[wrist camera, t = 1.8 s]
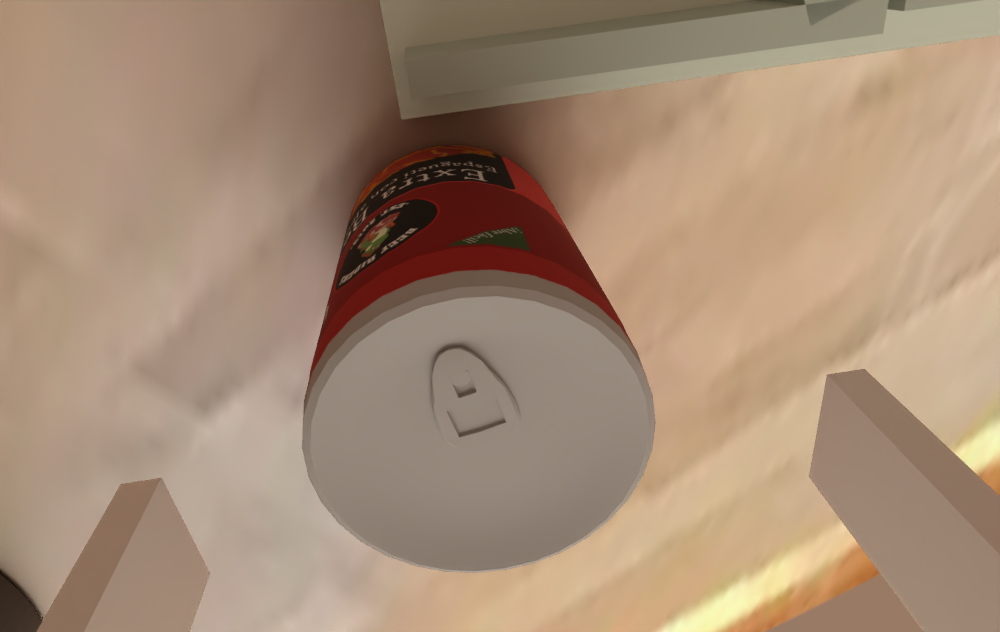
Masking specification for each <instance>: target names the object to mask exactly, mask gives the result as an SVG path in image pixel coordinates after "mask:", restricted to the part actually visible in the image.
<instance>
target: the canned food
mask: <svg viewBox="0 0 1000 632" xmlns="http://www.w3.org/2000/svg"><path fill="white" fill-rule="evenodd" d="M655 423H656V422H655V413H654V404H653V395H652V392H651V389H650V387H649V384H648V381H647V378H646V375H645V372H644V369H643V367H642V364H641V361H640V359H639V356H638V353H637V351H636V349H635V347H634V346H633V344H632V342H631V340H630V339H629V337H628V335H627V333H626V331H625V329H624V326H623V324H622V323H621V321H620V319H619V318H618V316H617V314H616V312H615V311H614V309H613V307H612V305H611V304H610V302H609V300H608V299H607V297H606V295H605V293H604V292H603V290H602V288H601V287H600V285H599V283H598V281H597V280H596V278H595V276H594V274H593V273H592V271H591V269H590V268H589V266H588V264H587V262H586V261H585V259H584V257H583V256H582V254H581V252H580V250H579V249H578V247H577V245H576V244H575V242H574V240H573V238H572V237H571V235H570V233H569V231H568V230H567V228H566V226H565V225H564V223H563V221H562V219H561V218H560V216H559V214H558V213H557V211H556V209H555V207H554V206H553V204H552V202H551V201H550V199H549V198H548V196H547V195H546V193H545V192H544V190H543V189H542V187H541V186H540V185H539V184H538V183H537V182H536V181H535V180H534V179H533V178H532V177H531V176H530V175H529V174H528V173H527V172H526V171H525V170H524V169H522V168H521V167H519V166H518V165H516V164H515V163H513V162H512V161H510V160H509V159H507V158H505V157H503V156H500V155H498V154H495V153H493V152H490V151H488V150H485V149H480V148H475V147H469V146H464V145H449V146H435V147H431V148H427V149H423V150H418V151H415V152H413V153H411V154H409V155H406V156H404V157H402V158H400V159H398V160H396V161H394V162H393V163H391V164H390V165H389V166H387V167H386V168H385V169H384V170H382V171H381V172H380V173H378V174H377V175H376V176H375V177H374V178H373V180H372V181H371V182H370V183H369V184H368V186H367V187H366V188H365V189H364V190H363V191H362V193H361V195H360V197H359V199H358V201H357V202H356V204H355V206H354V208H353V210H352V213H351V216H350V220H349V223H348V227H347V230H346V234H345V238H344V242H343V246H342V250H341V254H340V258H339V261H338V265H337V269H336V273H335V277H334V281H333V285H332V289H331V293H330V297H329V300H328V304H327V308H326V312H325V316H324V320H323V324H322V328H321V332H320V336H319V339H318V343H317V347H316V351H315V355H314V359H313V363H312V367H311V371H310V379H309V383H308V387H307V391H306V395H305V399H304V417H303V440H302V449H303V454H304V458H305V463H306V467H307V472H308V476H309V478H310V480H311V482H312V484H313V486H314V488H315V490H316V492H317V494H318V496H319V498H320V500H321V502H322V503H323V504H324V506H325V507H326V508H327V509H328V511H329V512H330V513H331V514H332V515H333V517H334V518H335V519H336V520H337V522H338V523H339V524H340V525H341V526H343V527H344V528H345V529H346V530H348V531H349V532H350V533H351V534H352V535H354V536H355V537H356V538H357V539H358V540H360V541H361V542H363V543H364V544H366V545H368V546H370V547H372V548H373V549H375V550H377V551H379V552H381V553H382V554H384V555H386V556H388V557H391V558H394V559H397V560H400V561H402V562H405V563H408V564H411V565H414V566H418V567H423V568H428V569H434V570H439V571H444V572H466V573H479V572H489V571H500V570H507V569H511V568H515V567H520V566H524V565H528V564H532V563H536V562H538V561H541V560H543V559H546V558H548V557H551V556H553V555H556V554H559V553H561V552H563V551H565V550H567V549H568V548H570V547H572V546H574V545H575V544H577V543H579V542H581V541H582V540H584V539H586V538H587V537H589V536H590V535H591V534H592V533H594V532H595V531H596V530H598V529H599V528H600V527H601V526H603V525H604V524H605V523H606V522H608V521H609V520H610V519H611V518H612V517H613V516H614V514H615V513H616V512H617V511H618V510H619V509H620V508H621V507H622V506H623V504H624V503H625V502H626V501H627V500H628V499H629V497H630V496H631V494H632V492H633V491H634V489H635V487H636V486H637V484H638V482H639V481H640V479H641V477H642V476H643V474H644V471H645V468H646V465H647V462H648V460H649V457H650V454H651V451H652V447H653V439H654V431H655Z"/></svg>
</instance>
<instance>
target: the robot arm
mask: <svg viewBox="0 0 1000 632" xmlns="http://www.w3.org/2000/svg"><path fill="white" fill-rule="evenodd" d="M809 478H810V479H811V480H812V482H813V483H814V484H815V486H816V487H817V488H818V490H819V491H820V492H821V494H822V495H823V496H824V498H825V499H826V501H827V502H828V503H829V505H830V506H831V507H832V509H833V510H834V511H835V513H836V514H837V515H838V517H839V518H840V520H841V521H842V522H843V524H844V525H845V526H846V528H847V529H848V530H849V532H850V533H851V534H852V536H853V537H854V539H855V540H856V541H857V543H858V544H859V545H860V547H861V548H862V549H863V551H864V552H865V553H866V555H867V556H868V557H869V559H870V560H871V562H872V563H873V564H874V566H875V567H876V568H877V570H878V571H879V572H880V574H881V575H882V576H883V578H884V579H885V580H886V582H887V583H888V584H889V586H890V587H891V589H892V590H893V591H894V592H895V594H896V595H897V597H898V598H899V600H900V601H901V602H902V604H903V605H904V606H905V608H906V609H907V610H908V611H909V613H910V614H911V616H912V617H913V618H914V620H915V621H916V622H917V624H918V625H919V627H920V628H921V629H922V631H923V632H1000V496H999V495H998V494H997V493H996V492H995V491H994V490H993V489H992V488H991V487H989V486H988V485H987V484H986V483H985V482H984V481H983V480H982V479H981V478H980V477H979V476H978V475H977V474H976V473H975V472H973V471H972V470H971V469H970V468H969V467H968V466H967V465H966V464H965V463H964V462H963V461H962V460H961V459H960V458H959V457H958V456H956V455H955V454H954V453H953V452H952V451H951V450H950V449H949V448H948V447H947V446H946V445H945V444H944V443H943V442H942V441H940V440H939V439H938V438H937V437H936V436H935V435H934V434H933V433H932V432H931V431H930V430H929V429H928V428H927V427H926V426H925V425H923V424H922V423H921V422H920V421H919V420H918V419H917V418H916V417H915V416H914V415H913V414H912V413H911V412H910V411H909V410H908V409H906V408H905V407H904V406H903V405H902V404H901V403H900V402H899V401H898V400H897V399H896V398H895V397H894V396H893V395H892V394H890V393H889V392H888V391H887V390H886V389H885V388H884V387H883V386H882V385H881V384H880V383H879V382H878V381H877V380H876V379H875V378H873V377H872V376H871V375H870V374H869V373H868V372H867V371H866V370H865V369H861V370H855V371H848V372H842V373H835V374H829V375H827V378H826V383H825V389H824V395H823V400H822V406H821V412H820V417H819V423H818V429H817V434H816V440H815V446H814V451H813V457H812V462H811V468H810V474H809ZM209 574H210V572H209V570H208V568H207V566H206V564H205V562H204V560H203V558H202V556H201V554H200V553H199V551H198V549H197V547H196V545H195V543H194V541H193V539H192V537H191V535H190V533H189V531H188V529H187V527H186V525H185V523H184V521H183V519H182V517H181V515H180V513H179V511H178V509H177V507H176V506H175V504H174V502H173V500H172V498H171V496H170V494H169V492H168V490H167V488H166V486H165V484H164V482H163V480H162V478H158V479H151V480H145V481H138V482H132V483H125V484H121V485H120V487H119V489H118V490H117V492H116V494H115V496H114V497H113V499H112V501H111V503H110V504H109V506H108V508H107V510H106V511H105V513H104V515H103V517H102V518H101V520H100V522H99V524H98V525H97V527H96V529H95V530H94V532H93V534H92V536H91V537H90V539H89V541H88V543H87V544H86V546H85V548H84V550H83V551H82V553H81V555H80V557H79V558H78V560H77V562H76V564H75V565H74V567H73V569H72V571H71V572H70V574H69V576H68V578H67V579H66V581H65V583H64V585H63V586H62V588H61V590H60V592H59V593H58V595H57V597H56V599H55V600H54V602H53V604H52V605H51V607H50V609H49V611H48V612H47V614H46V616H45V618H44V619H43V621H42V622H41V620H40V618H39V616H38V614H37V612H36V611H35V609H34V608H33V607H32V605H31V604H30V602H29V601H28V600H27V599H26V598H25V596H24V595H23V594H22V593H21V592H20V591H19V590H18V589H17V588H16V587H15V586H14V585H13V584H11V583H10V582H9V581H8V580H7V579H6V578H4V577H3V576H2V575H1V574H0V632H190V629H191V626H192V623H193V620H194V617H195V614H196V612H197V609H198V606H199V603H200V600H201V597H202V594H203V591H204V589H205V586H206V583H207V580H208V577H209Z"/></svg>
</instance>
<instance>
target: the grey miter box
mask: <svg viewBox="0 0 1000 632" xmlns="http://www.w3.org/2000/svg"><path fill="white" fill-rule="evenodd" d="M379 1H380V7H381V12H382V17H383V23H384V28H385V34H386V39H387V44H388V50H389V55H390V61H391V66H392V71H393V77H394V82H395V88H396V93H397V98H398V104H399V109H400V115H401V120H403V119H410V118H417V117H424V116H431V115H438V114H445V113H453V112H460V111H467V110H474V109H481V108H488V107H495V106H502V105H509V104H516V103H523V102H530V101H537V100H545V99H552V98H559V97H566V96H573V95H580V94H587V93H594V92H601V91H608V90H615V89H622V88H630V87H637V86H644V85H651V84H658V83H665V82H672V81H679V80H686V79H693V78H700V77H707V76H715V75H722V74H729V73H736V72H743V71H750V70H757V69H764V68H771V67H778V66H785V65H792V64H800V63H807V62H814V61H821V60H828V59H835V58H842V57H849V56H856V55H863V54H870V53H877V52H885V51H892V50H899V49H906V48H913V47H920V46H927V45H934V44H941V43H948V42H955V41H962V40H970V39H977V38H984V37H991V36H998V35H1000V0H379Z"/></svg>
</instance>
